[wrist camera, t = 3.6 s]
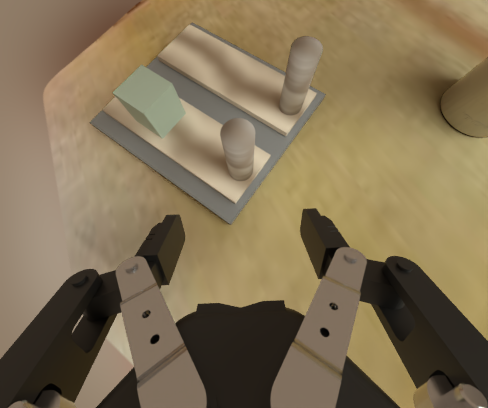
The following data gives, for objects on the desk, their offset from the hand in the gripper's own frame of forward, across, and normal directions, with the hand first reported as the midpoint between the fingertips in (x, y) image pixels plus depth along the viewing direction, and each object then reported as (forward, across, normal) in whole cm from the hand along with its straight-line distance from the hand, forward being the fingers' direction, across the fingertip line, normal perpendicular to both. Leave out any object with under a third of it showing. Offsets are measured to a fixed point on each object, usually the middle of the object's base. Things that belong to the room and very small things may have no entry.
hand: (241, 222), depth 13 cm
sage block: (+20, +11, -5) cm, 23 cm away
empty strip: (+25, 0, -9) cm, 27 cm away
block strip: (+19, +8, -2) cm, 20 cm away
